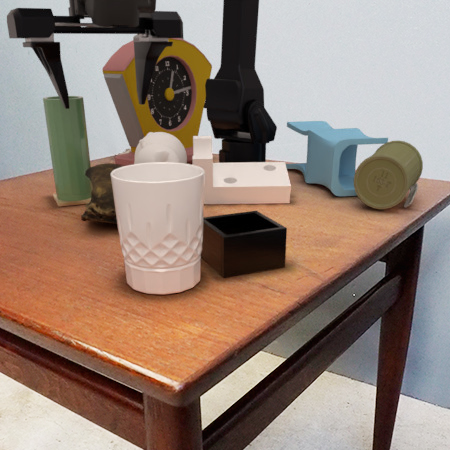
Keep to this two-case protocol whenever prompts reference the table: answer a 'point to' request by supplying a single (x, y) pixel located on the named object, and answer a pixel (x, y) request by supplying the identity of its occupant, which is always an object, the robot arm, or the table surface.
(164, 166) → the white cup
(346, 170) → the blue step stool
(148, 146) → the cat figurine
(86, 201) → the coaster
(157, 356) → the table surface
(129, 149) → the soap
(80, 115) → the green cylinder
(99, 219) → the seashell
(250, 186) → the bracket
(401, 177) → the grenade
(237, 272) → the black open box
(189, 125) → the yellow mantel clock
